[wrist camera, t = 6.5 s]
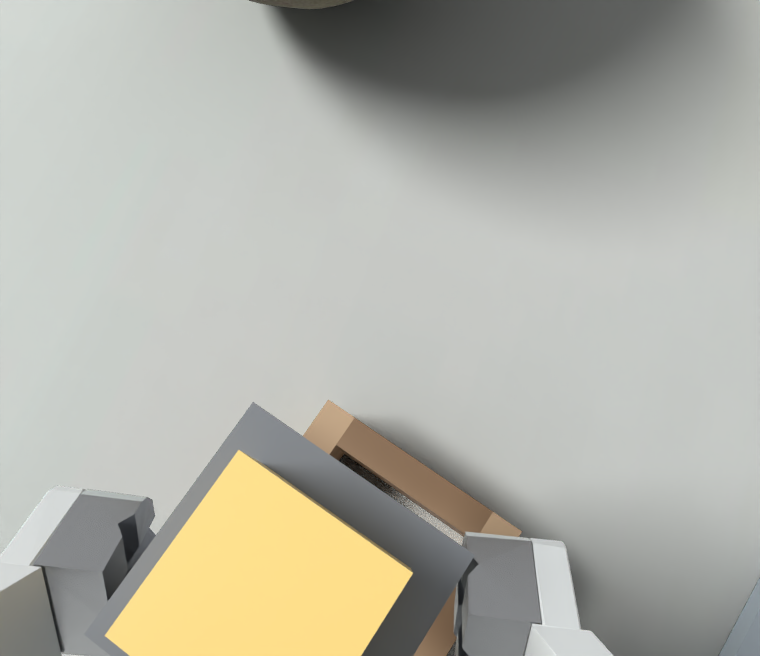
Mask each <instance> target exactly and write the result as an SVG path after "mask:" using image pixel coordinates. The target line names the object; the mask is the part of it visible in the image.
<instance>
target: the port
mask: <svg viewBox="0 0 760 656" xmlns="http://www.w3.org/2000/svg"><path fill="white" fill-rule="evenodd" d="M719 656H760V578H759V580H758V582H757V584H756V586H755V588H754V590H753V592H752V593H751V595H750V597H749V599H748V601H747V603H746V605H745V607H744V609H743V610H742V612H741V614H740V616H739V618H738V620H737V622H736V624H735V626H734V628H733V629H732V631H731V633H730V635H729V637H728V639H727V641H726V643H725V645H724V646H723V648H722V650H721V652H720V654H719Z"/></svg>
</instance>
